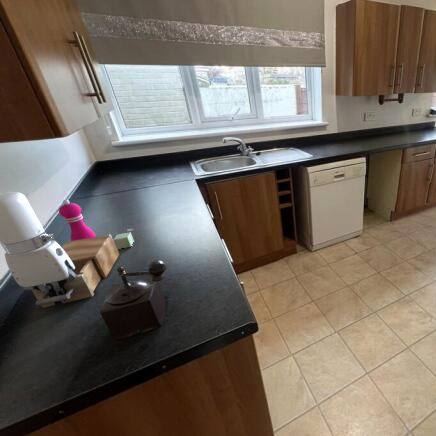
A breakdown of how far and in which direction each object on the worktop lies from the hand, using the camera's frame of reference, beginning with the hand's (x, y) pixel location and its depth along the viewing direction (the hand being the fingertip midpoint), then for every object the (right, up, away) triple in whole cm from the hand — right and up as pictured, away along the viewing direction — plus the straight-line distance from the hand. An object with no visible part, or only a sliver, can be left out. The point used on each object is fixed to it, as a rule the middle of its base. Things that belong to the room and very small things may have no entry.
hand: (62, 300), depth 73 cm
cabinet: (-7, +4, +17) cm, 19 cm away
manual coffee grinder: (+26, -4, -2) cm, 26 cm away
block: (-7, +12, +32) cm, 35 cm away
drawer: (-2, 0, +6) cm, 7 cm away
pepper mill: (-22, +11, +32) cm, 40 cm away
